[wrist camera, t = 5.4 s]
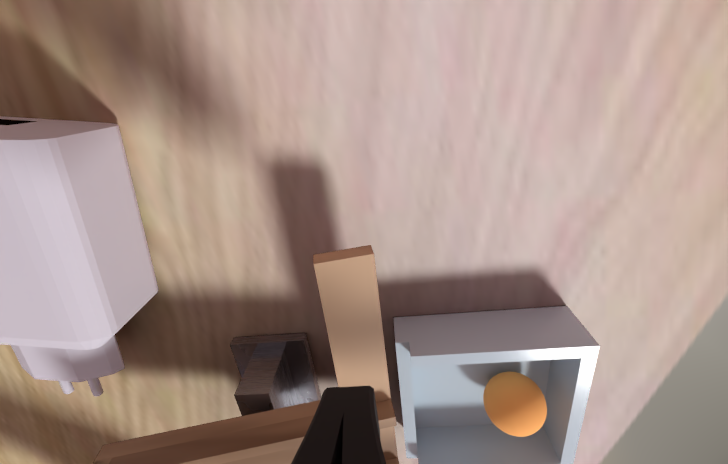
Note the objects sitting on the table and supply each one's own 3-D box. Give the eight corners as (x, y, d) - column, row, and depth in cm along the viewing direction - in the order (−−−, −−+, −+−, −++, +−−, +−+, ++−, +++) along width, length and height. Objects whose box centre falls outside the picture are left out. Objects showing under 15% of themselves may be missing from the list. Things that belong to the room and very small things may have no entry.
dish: (547, 422, 22) (571, 470, 20) (404, 428, 23) (407, 475, 20) (567, 305, 18) (599, 345, 16) (393, 317, 19) (396, 357, 16)
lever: (395, 450, 20) (407, 504, 17) (144, 506, 18) (118, 573, 16) (370, 244, 14) (383, 280, 12) (10, 306, 13) (-63, 360, 10)
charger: (43, 355, 22) (-70, 110, 16) (185, 365, 22) (129, 122, 15) (-39, 424, 18) (-241, 123, 11) (137, 437, 17) (32, 140, 11)
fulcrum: (327, 424, 23) (319, 481, 20) (265, 426, 24) (246, 483, 20) (305, 332, 20) (291, 383, 17) (233, 337, 20) (205, 387, 17)
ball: (542, 406, 20) (545, 458, 17) (485, 392, 21) (479, 439, 19) (548, 365, 19) (552, 416, 16) (486, 354, 20) (481, 399, 17)
